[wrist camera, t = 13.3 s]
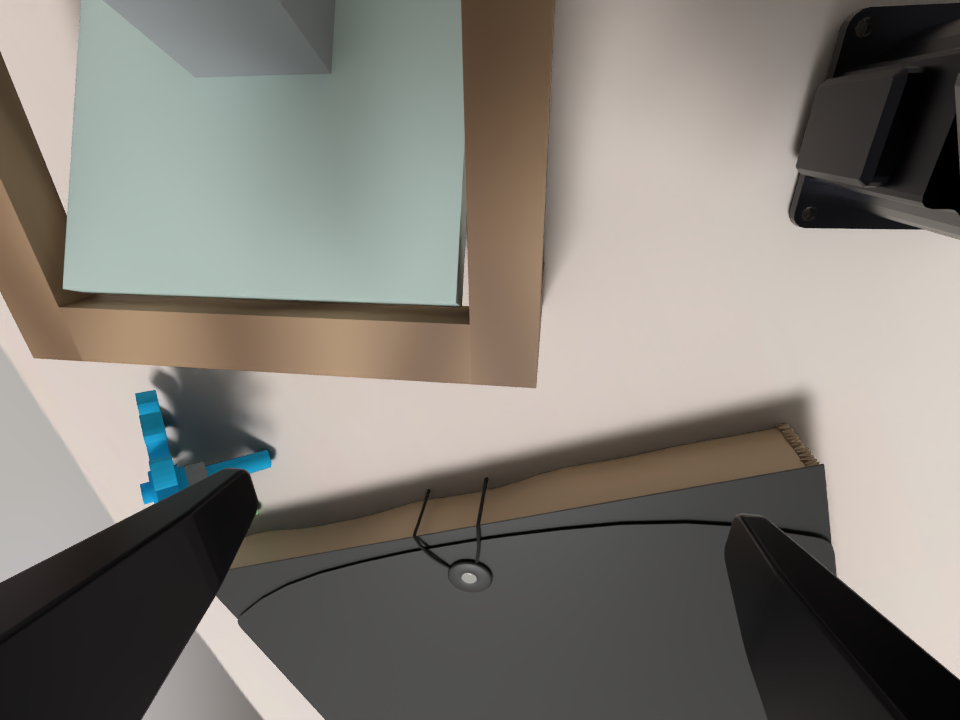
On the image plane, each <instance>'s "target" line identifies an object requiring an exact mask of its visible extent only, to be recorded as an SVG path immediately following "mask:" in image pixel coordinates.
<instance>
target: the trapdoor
mask: <svg viewBox="0 0 960 720" xmlns="http://www.w3.org/2000/svg"><path fill="white" fill-rule="evenodd" d="M466 221H467V204H466V167H465V130H464V93H463V56H462V19H461V0H335V17H334V33H333V50H332V67H331V74H298V75H266V76H233V77H200V78H195V77H194V76H193V75H192V74H191V73H189V72H188V71H187V70H186V69H185V68H183V67H182V66H181V65H180V64H179V63H177V62H176V61H175V60H174V59H173V58H171V57H170V56H169V55H168V54H167V53H165V52H164V51H163V50H162V49H161V48H159V47H158V46H157V45H156V44H155V43H153V42H152V41H151V40H150V39H149V38H147V37H146V36H145V35H144V34H143V33H141V32H140V31H139V30H138V29H137V28H136V27H134V26H133V25H132V24H131V23H130V22H128V21H127V20H126V19H125V18H124V17H122V16H121V15H120V14H119V13H118V12H116V11H115V10H114V9H113V8H112V7H110V6H109V5H108V4H107V3H106V2H104V1H103V0H81V5H80V21H79V37H78V53H77V69H76V85H75V101H74V117H73V132H72V148H71V164H70V180H69V196H68V212H67V228H66V243H65V259H64V275H63V289H67V290H73V291H79V292H85V293H91V294H116V295H143V296H170V297H197V298H223V299H250V300H277V301H304V302H331V303H358V304H385V305H412V306H439V307H462V295H463V276H464V258H465V239H466Z"/></svg>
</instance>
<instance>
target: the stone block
mask: <svg viewBox="0 0 960 720" xmlns="http://www.w3.org/2000/svg"><path fill="white" fill-rule="evenodd" d="M103 1H104V2H106V3H107V4H108V5H109V6H110V7H112V8H113V9H114V10H115V11H116V12H118V13H119V14H120V15H121V16H122V17H124V18H125V19H126V20H127V21H128V22H130V23H131V24H132V25H133V26H134V27H136V28H137V29H138V30H139V31H140V32H141V33H143V34H144V35H145V36H146V37H147V38H149V39H150V40H151V41H152V42H153V43H155V44H156V45H157V46H158V47H159V48H161V49H162V50H163V51H164V52H165V53H167V54H168V55H169V56H170V57H171V58H173V59H174V60H175V61H176V62H177V63H179V64H180V65H181V66H182V67H183V68H185V69H186V70H187V71H188V72H189V73H191V74H192V75H193V76H194V77H195V78H200V77H233V76H266V75H298V74H331V67H332V50H333V33H334V17H335V0H103Z"/></svg>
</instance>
